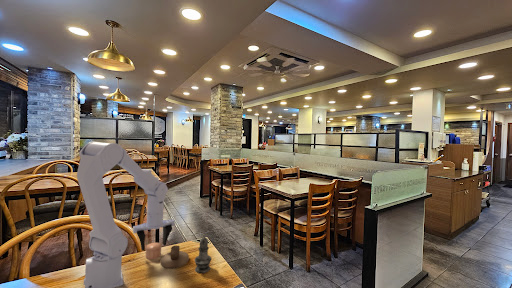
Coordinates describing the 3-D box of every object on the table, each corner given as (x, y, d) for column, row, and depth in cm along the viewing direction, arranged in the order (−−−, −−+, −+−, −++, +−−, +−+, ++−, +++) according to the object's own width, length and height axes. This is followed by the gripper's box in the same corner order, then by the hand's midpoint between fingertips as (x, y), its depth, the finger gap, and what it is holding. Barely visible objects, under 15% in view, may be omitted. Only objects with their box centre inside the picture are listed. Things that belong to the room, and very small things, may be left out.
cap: (144, 254, 85) (145, 244, 85) (158, 250, 89) (159, 241, 89) (147, 260, 81) (147, 250, 81) (162, 256, 85) (162, 246, 84)
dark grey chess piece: (213, 265, 81) (214, 233, 80) (208, 274, 75) (209, 240, 75) (197, 263, 81) (199, 231, 81) (191, 273, 76) (193, 238, 75)
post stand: (163, 271, 75) (164, 257, 75) (157, 257, 84) (158, 244, 83) (192, 263, 81) (193, 250, 81) (184, 251, 89) (184, 239, 89)
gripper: (135, 219, 77) (134, 257, 77) (177, 212, 86) (176, 246, 86) (132, 212, 82) (131, 248, 83) (172, 207, 91) (170, 239, 92)
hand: (153, 246), depth 85 cm, fingers open, 7 cm apart
